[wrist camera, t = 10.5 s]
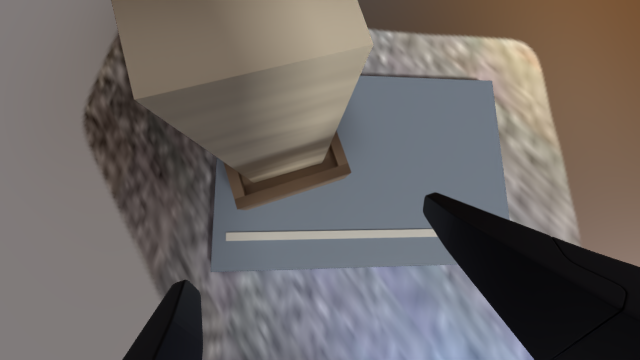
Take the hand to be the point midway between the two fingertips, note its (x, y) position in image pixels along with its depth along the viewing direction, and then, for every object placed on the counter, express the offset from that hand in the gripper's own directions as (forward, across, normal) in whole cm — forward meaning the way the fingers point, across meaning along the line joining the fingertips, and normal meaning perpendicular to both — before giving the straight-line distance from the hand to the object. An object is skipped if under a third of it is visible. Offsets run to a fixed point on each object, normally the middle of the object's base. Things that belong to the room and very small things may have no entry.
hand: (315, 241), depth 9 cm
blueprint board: (+10, -6, +5) cm, 13 cm away
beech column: (+10, 0, +1) cm, 10 cm away
